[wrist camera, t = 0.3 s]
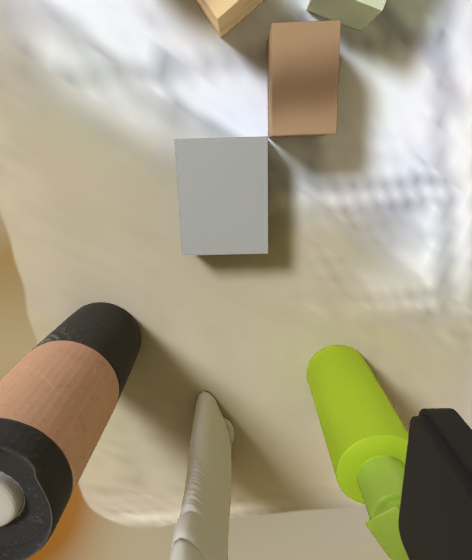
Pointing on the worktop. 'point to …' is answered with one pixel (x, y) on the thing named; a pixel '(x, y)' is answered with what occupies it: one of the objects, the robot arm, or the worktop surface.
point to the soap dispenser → (362, 439)
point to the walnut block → (303, 78)
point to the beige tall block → (206, 487)
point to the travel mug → (58, 419)
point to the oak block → (226, 12)
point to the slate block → (223, 195)
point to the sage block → (348, 11)
